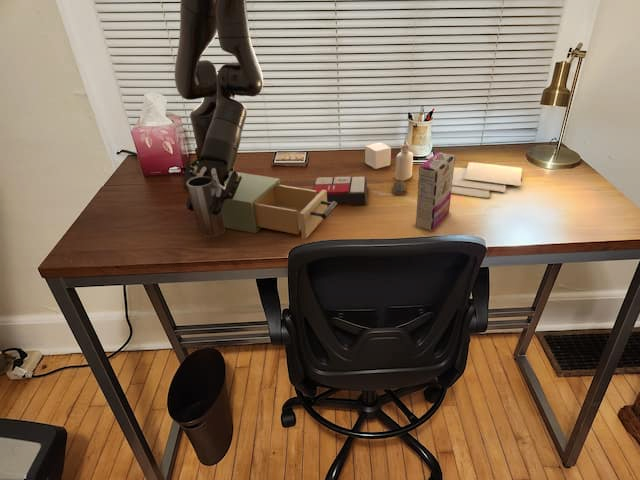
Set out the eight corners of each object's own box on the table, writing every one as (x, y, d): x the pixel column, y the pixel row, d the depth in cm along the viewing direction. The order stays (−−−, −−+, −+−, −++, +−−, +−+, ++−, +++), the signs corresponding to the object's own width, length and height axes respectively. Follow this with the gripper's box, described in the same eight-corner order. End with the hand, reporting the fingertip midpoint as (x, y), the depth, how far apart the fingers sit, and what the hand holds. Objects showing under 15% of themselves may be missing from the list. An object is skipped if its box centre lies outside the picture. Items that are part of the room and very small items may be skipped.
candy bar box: (432, 208, 119) (438, 150, 110) (449, 213, 117) (456, 154, 108) (413, 226, 112) (418, 165, 102) (431, 231, 110) (438, 170, 100)
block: (403, 186, 131) (404, 180, 130) (405, 195, 126) (406, 189, 125) (391, 186, 131) (392, 180, 130) (393, 195, 126) (393, 189, 125)
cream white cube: (390, 165, 144) (391, 147, 141) (375, 169, 142) (375, 151, 138) (379, 159, 148) (380, 141, 145) (365, 163, 146) (365, 145, 142)
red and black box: (315, 176, 129) (366, 174, 128) (317, 189, 131) (367, 187, 130) (310, 192, 120) (365, 190, 119) (312, 206, 122) (365, 205, 121)
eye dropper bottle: (392, 176, 137) (394, 138, 130) (410, 174, 138) (412, 136, 131) (396, 181, 134) (398, 143, 127) (414, 180, 135) (416, 141, 128)
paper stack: (518, 202, 122) (519, 199, 122) (430, 190, 129) (430, 187, 128) (521, 170, 140) (521, 168, 140) (443, 160, 146) (443, 158, 146)
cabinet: (283, 207, 121) (279, 178, 116) (256, 233, 110) (250, 202, 104) (231, 198, 125) (226, 170, 120) (200, 222, 114) (192, 192, 109)
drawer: (342, 216, 115) (341, 192, 111) (322, 241, 105) (320, 216, 101) (276, 204, 120) (273, 181, 116) (250, 228, 110) (246, 203, 106)
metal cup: (194, 235, 103) (180, 184, 96) (209, 223, 108) (197, 174, 100) (215, 239, 102) (202, 188, 94) (229, 227, 106) (218, 177, 99)
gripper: (186, 133, 101) (165, 202, 98) (240, 139, 96) (219, 212, 94) (205, 147, 108) (186, 212, 106) (256, 154, 104) (237, 221, 102)
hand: (202, 212), depth 100 cm, fingers closed on metal cup, 6 cm apart
